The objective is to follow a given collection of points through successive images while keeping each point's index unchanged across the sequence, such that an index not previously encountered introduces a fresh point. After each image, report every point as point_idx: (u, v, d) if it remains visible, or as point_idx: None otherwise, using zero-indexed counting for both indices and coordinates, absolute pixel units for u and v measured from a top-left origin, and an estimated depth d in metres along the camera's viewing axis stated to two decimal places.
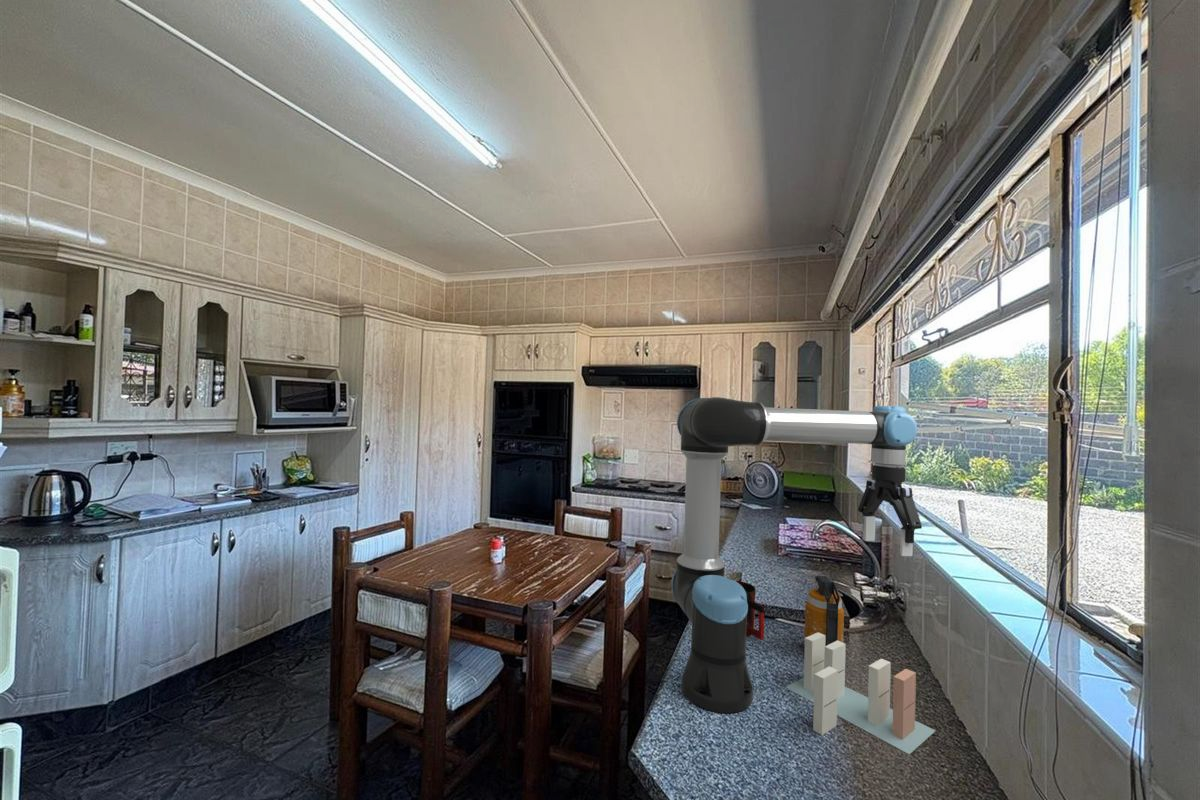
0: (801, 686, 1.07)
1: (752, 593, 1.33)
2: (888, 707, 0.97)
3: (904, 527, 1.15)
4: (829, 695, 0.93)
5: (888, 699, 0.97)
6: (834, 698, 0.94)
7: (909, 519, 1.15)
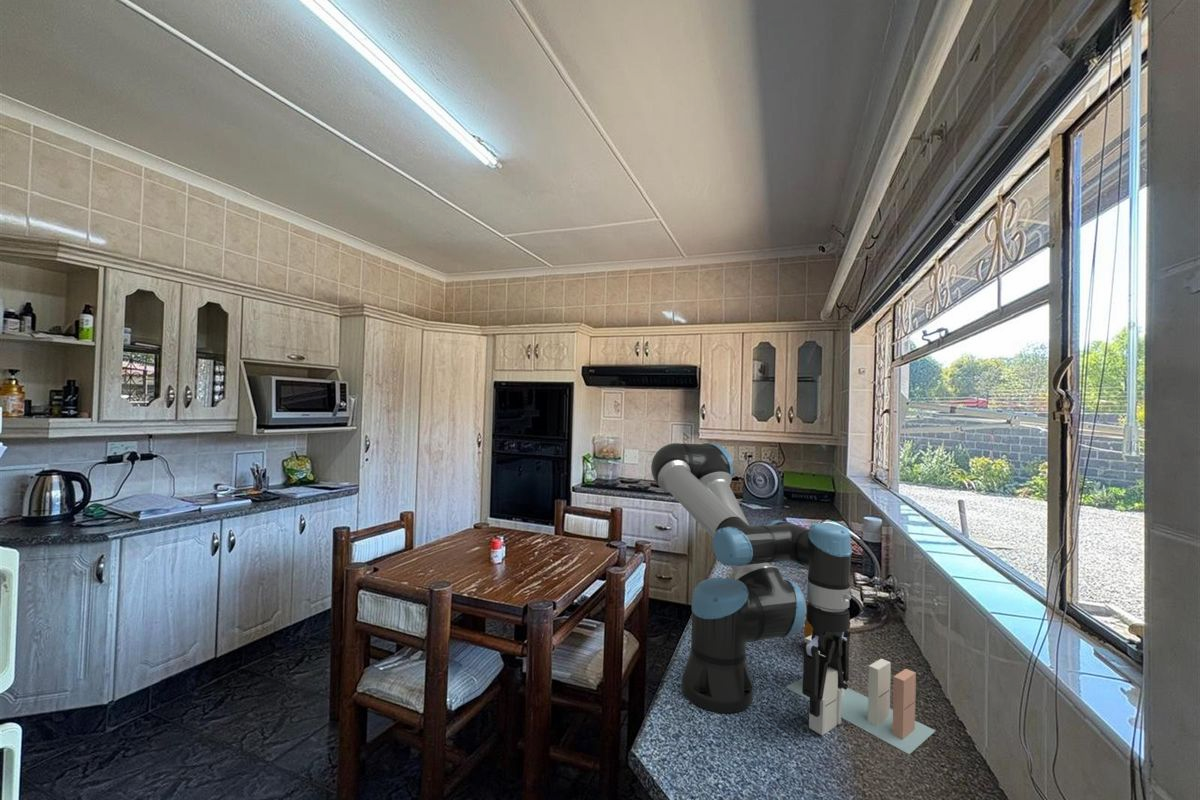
0: (801, 686, 1.07)
1: None
2: (888, 707, 0.97)
3: None
4: (829, 695, 0.93)
5: (888, 699, 0.97)
6: (834, 698, 0.94)
7: None
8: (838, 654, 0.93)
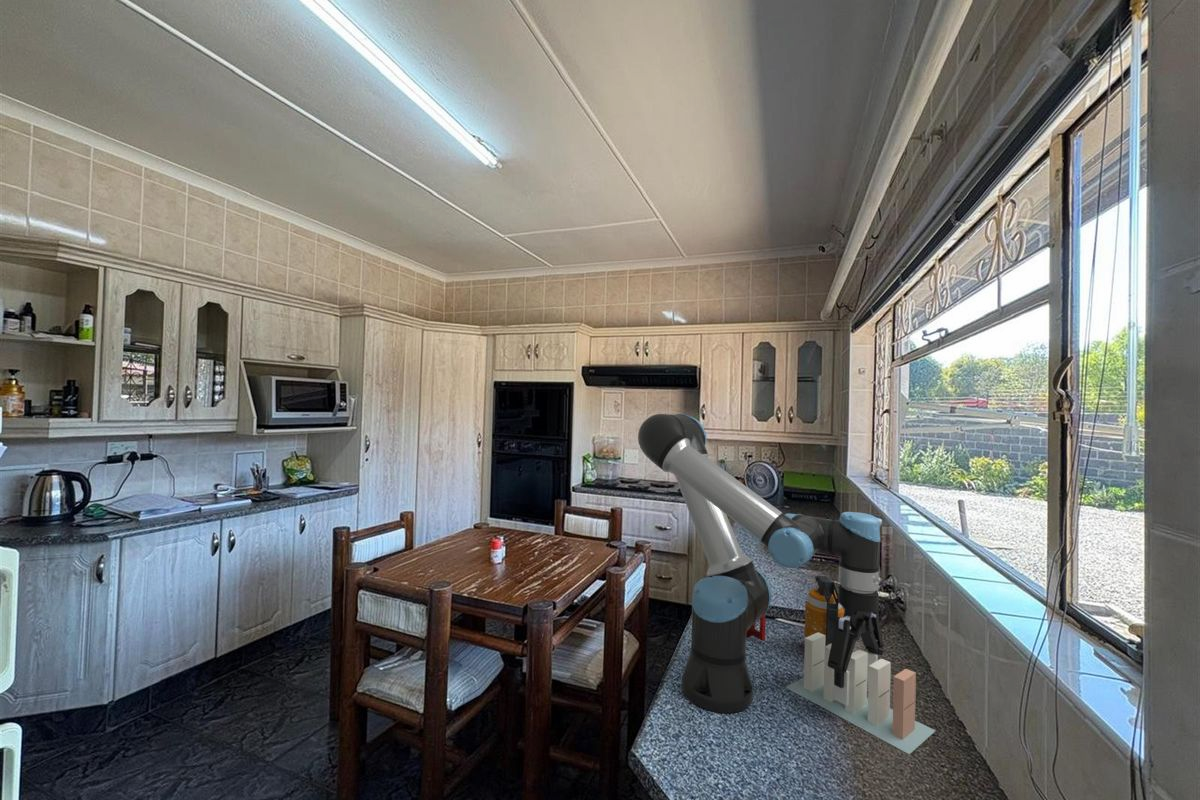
0: (801, 686, 1.07)
1: None
2: (888, 707, 0.97)
3: None
4: (860, 675, 1.00)
5: (888, 699, 0.97)
6: (864, 678, 1.01)
7: None
8: (870, 631, 1.01)
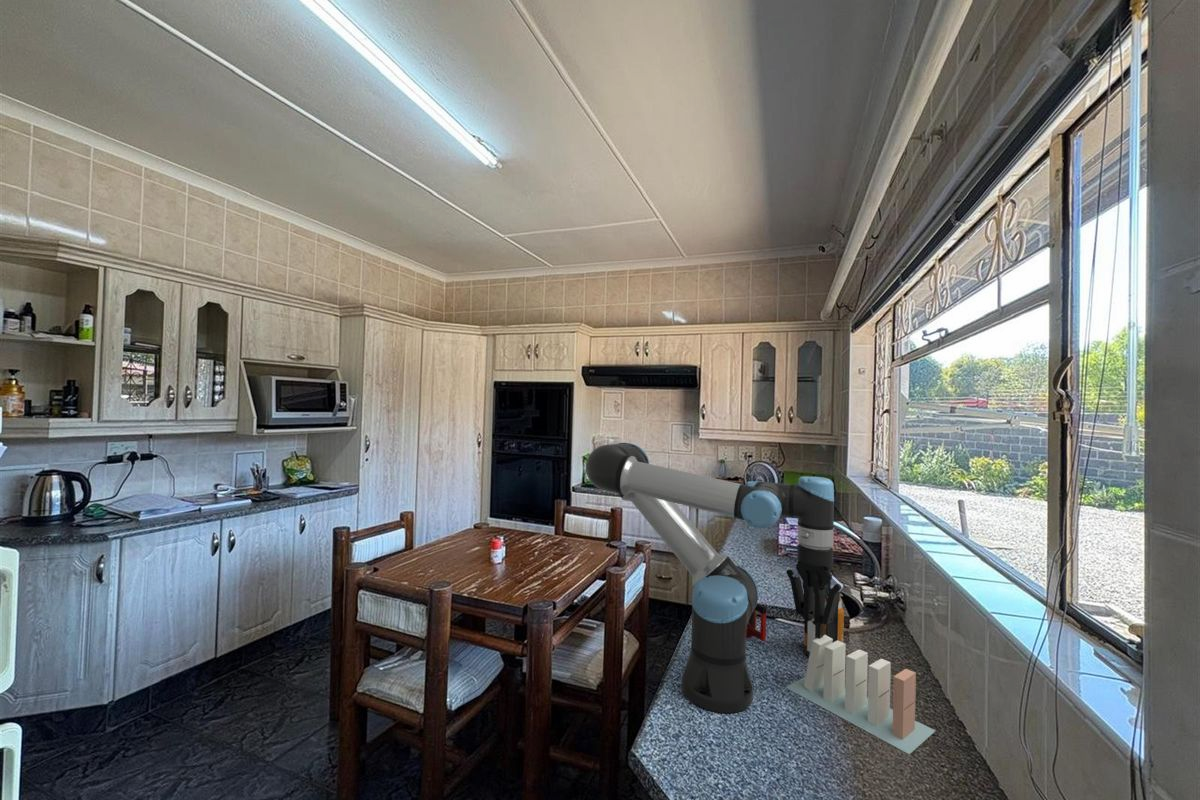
0: (801, 686, 1.07)
1: None
2: (888, 707, 0.97)
3: None
4: (860, 675, 1.00)
5: (888, 699, 0.97)
6: (864, 678, 1.01)
7: None
8: None
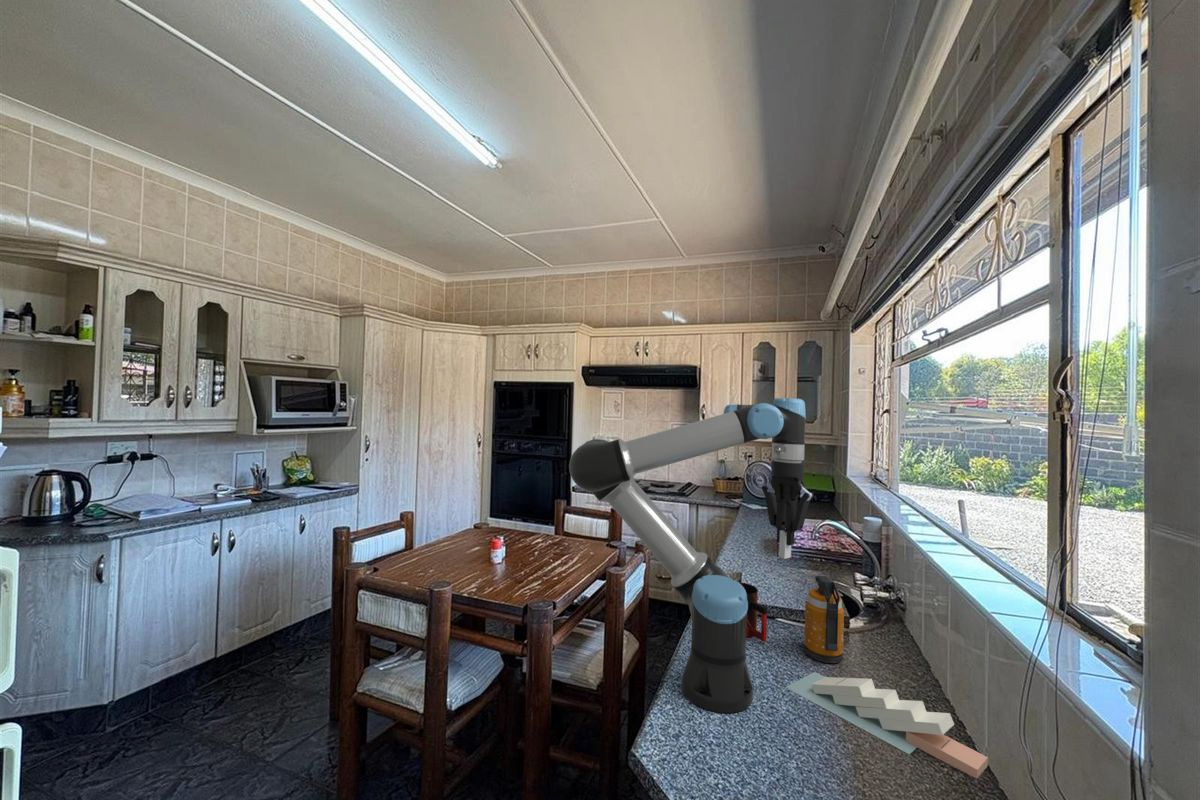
0: (801, 686, 1.07)
1: (754, 594, 1.32)
2: None
3: None
4: None
5: None
6: None
7: None
8: None
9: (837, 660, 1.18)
